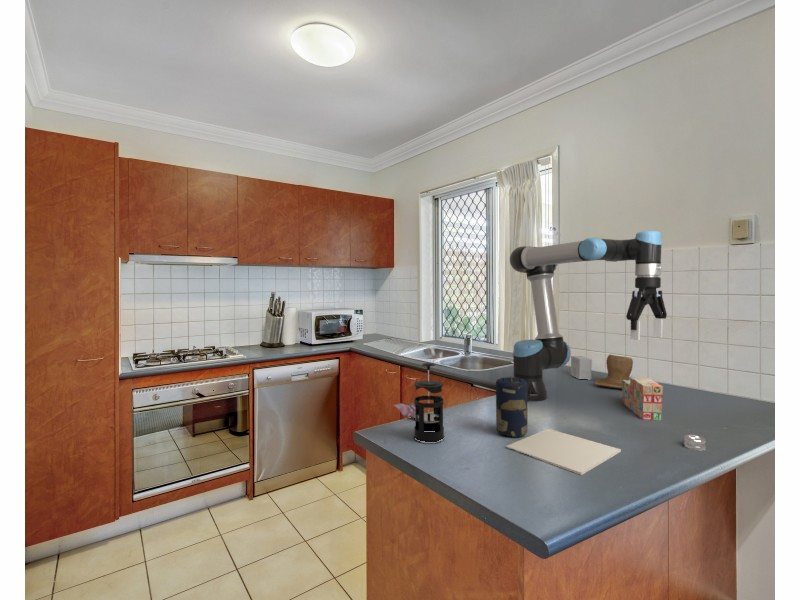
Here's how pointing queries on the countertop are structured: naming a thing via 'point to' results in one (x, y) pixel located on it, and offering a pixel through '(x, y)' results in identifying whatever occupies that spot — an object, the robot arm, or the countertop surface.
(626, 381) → the stack of blocks
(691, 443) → the grooved metal pulley
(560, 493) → the countertop surface
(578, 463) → the mat
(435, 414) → the french press
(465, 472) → the countertop surface
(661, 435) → the countertop surface
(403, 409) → the rabbit figure
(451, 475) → the countertop surface
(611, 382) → the brown wooden stand
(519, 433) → the canister
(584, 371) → the skincare box
